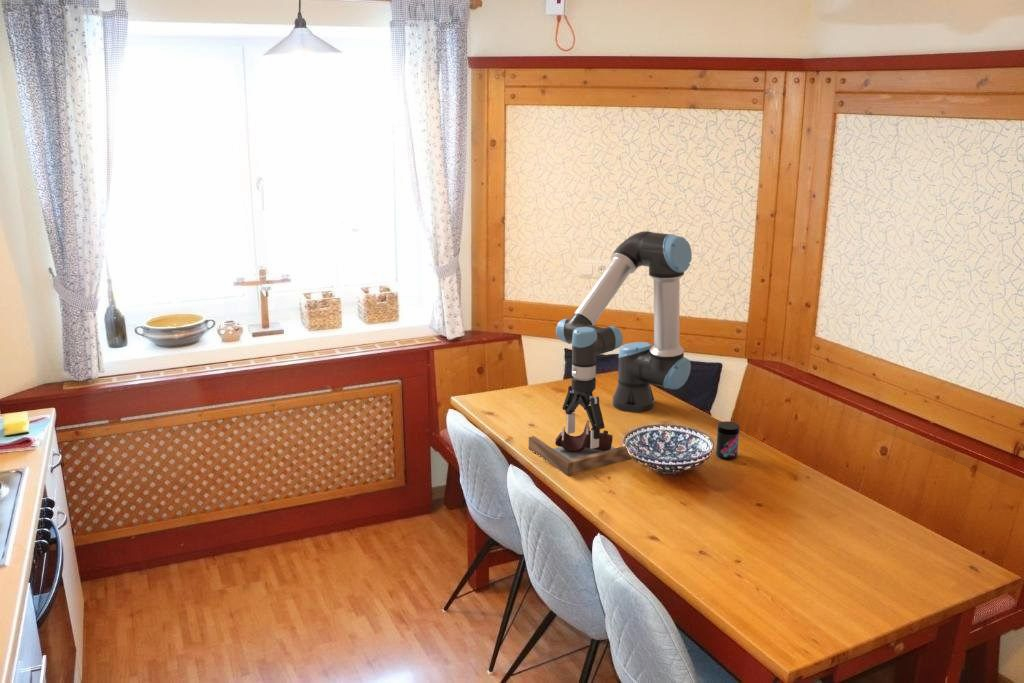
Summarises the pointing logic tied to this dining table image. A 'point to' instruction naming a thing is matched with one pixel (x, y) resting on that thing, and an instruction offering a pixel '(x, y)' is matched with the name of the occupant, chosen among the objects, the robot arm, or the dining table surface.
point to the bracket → (583, 440)
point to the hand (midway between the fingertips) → (582, 440)
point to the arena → (580, 462)
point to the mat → (579, 454)
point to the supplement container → (727, 440)
